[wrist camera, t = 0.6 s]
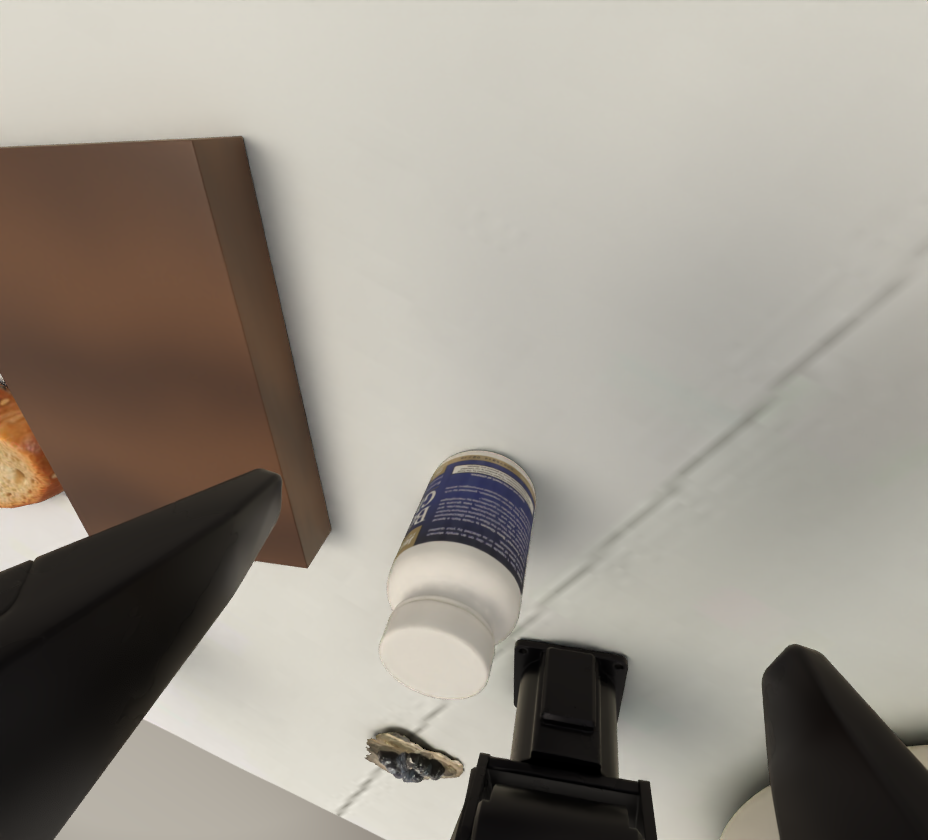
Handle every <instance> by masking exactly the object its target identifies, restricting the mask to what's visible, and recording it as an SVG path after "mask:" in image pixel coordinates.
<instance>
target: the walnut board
mask: <svg viewBox="0 0 928 840" xmlns="http://www.w3.org/2000/svg"><path fill="white" fill-rule="evenodd" d="M0 374H1V376H2V377H3V379H4V381H5V383H6V385H7V387H8V388H9V390H10V392H11V394H12V396H13V398H14V399H15V401H16V403H17V405H18V407H19V409H20V410H21V412H22V414H23V416H24V418H25V420H26V421H27V423H28V425H29V427H30V429H31V431H32V432H33V434H34V436H35V438H36V440H37V442H38V443H39V445H40V447H41V449H42V451H43V453H44V454H45V456H46V458H47V460H48V462H49V464H50V465H51V467H52V469H53V471H54V473H55V475H56V476H57V478H58V480H59V482H60V484H61V486H62V487H63V489H64V491H65V493H66V495H67V497H68V498H69V500H70V502H71V504H72V506H73V508H74V509H75V511H76V513H77V515H78V517H79V519H80V521H81V522H82V524H83V526H84V528H85V530H86V532H87V533H88V535H89V536H91V535H93V534H96V533H98V532H101V531H103V530H106V529H108V528H111V527H113V526H116V525H118V524H121V523H123V522H126V521H128V520H131V519H133V518H135V517H138V516H140V515H143V514H145V513H148V512H150V511H153V510H155V509H158V508H160V507H163V506H165V505H168V504H170V503H173V502H175V501H178V500H180V499H182V498H185V497H187V496H190V495H192V494H195V493H197V492H200V491H202V490H205V489H207V488H210V487H212V486H215V485H217V484H220V483H222V482H225V481H227V480H229V479H232V478H234V477H237V476H239V475H242V474H244V473H247V472H249V471H252V470H254V469H258V468H262V469H265V470H268V471H271V472H275V473H278V474H279V475H280V476H281V478H282V502H281V512H280V515H279V518H278V520H277V522H276V524H275V526H274V527H273V529H272V531H271V533H270V534H269V536H268V538H267V539H266V541H265V543H264V545H263V546H262V548H261V550H260V551H259V553H258V555H257V557H256V558H255V560H254V561H260V562H267V563H274V564H281V565H288V566H295V567H302V568H308V567H309V565H310V564H311V562H312V560H313V559H314V557H315V556H316V554H317V553H318V551H319V549H320V548H321V546H322V545H323V543H324V541H325V540H326V538H327V537H328V535H329V534H330V532H331V526H330V522H329V517H328V513H327V508H326V504H325V499H324V495H323V491H322V486H321V482H320V477H319V473H318V468H317V464H316V460H315V455H314V451H313V446H312V442H311V438H310V433H309V429H308V424H307V420H306V415H305V411H304V407H303V402H302V398H301V393H300V389H299V384H298V380H297V376H296V371H295V367H294V362H293V358H292V353H291V349H290V345H289V340H288V336H287V331H286V327H285V322H284V318H283V314H282V309H281V305H280V300H279V296H278V292H277V287H276V283H275V278H274V274H273V269H272V265H271V261H270V256H269V252H268V247H267V243H266V238H265V234H264V230H263V225H262V221H261V216H260V212H259V207H258V203H257V199H256V194H255V190H254V185H253V181H252V177H251V172H250V168H249V163H248V159H247V154H246V150H245V146H244V141H243V137H241V136H233V137H211V138H189V139H167V140H145V141H123V142H100V143H78V144H56V145H34V146H12V147H0Z"/></svg>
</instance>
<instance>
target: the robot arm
mask: <svg viewBox="0 0 928 840" xmlns="http://www.w3.org/2000/svg"><path fill="white" fill-rule="evenodd" d="M281 502H282V478H281V476H280V475H279V474H278V473H275V472H271V471H268V470H265V469H262V468H258V469H254V470H252V471H249V472H247V473H244V474H242V475H239V476H237V477H234V478H232V479H229V480H227V481H225V482H222V483H220V484H217V485H215V486H212V487H210V488H207V489H205V490H202V491H200V492H197V493H195V494H192V495H190V496H187V497H185V498H182V499H180V500H178V501H175V502H173V503H170V504H168V505H165V506H163V507H160V508H158V509H155V510H153V511H150V512H148V513H145V514H143V515H140V516H138V517H135V518H133V519H131V520H128V521H126V522H123V523H121V524H118V525H116V526H113V527H111V528H108V529H106V530H103V531H101V532H98V533H96V534H93V535H91V536H89V537H86V538H84V539H81V540H79V541H76V542H74V543H71V544H69V545H66V546H64V547H61V548H59V549H56V550H54V551H51V552H49V553H46V554H44V555H42V556H39V557H37V558H36V559H35V560H34V561H32V560H29V561H26V562H24V563H21V564H19V565H16V566H14V567H11V568H9V569H6V570H4V571H1V572H0V840H54V838H55V837H56V836H57V834H58V833H59V832H60V830H61V829H62V827H63V826H64V825H65V823H66V822H67V821H68V819H69V818H70V817H71V815H72V814H73V813H74V811H75V810H76V809H77V807H78V806H79V804H80V803H81V802H82V800H83V799H84V798H85V796H86V795H87V794H88V792H89V791H90V790H91V788H92V787H93V785H94V784H95V783H96V781H97V780H98V779H99V777H100V776H101V775H102V773H103V772H104V771H105V769H106V768H107V766H108V765H109V764H110V762H111V761H112V760H113V758H114V757H115V756H116V754H117V753H118V752H119V750H120V749H121V748H122V746H123V745H124V743H125V742H126V740H127V739H128V738H129V737H130V735H131V734H132V733H133V731H134V730H135V728H136V727H137V726H138V724H139V723H140V721H141V720H142V719H143V718H144V716H145V715H146V714H147V712H148V711H149V710H150V708H151V707H152V706H153V704H154V703H155V701H156V700H157V699H158V697H159V696H160V695H161V693H162V692H163V691H164V689H165V688H166V687H167V685H168V684H169V683H170V681H171V680H172V678H173V677H174V676H175V674H176V673H177V672H178V670H179V669H180V668H181V666H182V665H183V664H184V662H185V661H186V660H187V658H188V657H189V655H190V654H191V653H192V651H193V650H194V649H195V647H196V646H197V645H198V643H199V642H200V641H201V639H202V638H203V636H204V635H205V634H206V632H207V631H208V630H209V628H210V627H211V626H212V624H213V623H214V622H215V620H216V619H217V618H218V616H219V615H220V613H221V612H222V611H223V609H224V608H225V607H226V605H227V604H228V602H229V601H230V600H231V598H232V597H233V595H234V594H235V592H236V590H237V589H238V587H239V586H240V584H241V582H242V581H243V579H244V577H245V575H246V574H247V572H248V570H249V569H250V567H251V565H252V563H253V562H254V560H255V558H256V557H257V555H258V553H259V551H260V550H261V548H262V546H263V545H264V543H265V541H266V539H267V538H268V536H269V534H270V533H271V531H272V529H273V527H274V526H275V524H276V522H277V520H278V518H279V515H280V512H281ZM627 670H628V663H627V659H626V658H625V657H623V656H620V655H615V654H609V653H602V652H596V651H590V650H584V649H577V648H571V647H565V646H559V645H552V644H546V643H540V642H534V641H527V640H518V641H517V642H516V644H515V654H514V706H515V707H516V708H517V710H516V718H515V726H514V734H513V741H512V749H511V757H510V760H509V759H503V758H498V757H492V756H490V754H486V753H480V755H479V759H478V763H477V767H474V768H473V769H471V773H470V778H469V784H468V789H467V794H466V798H465V802H464V805H463V808H462V811H461V814H460V816H459V819H458V821H457V824H456V826H455V829H454V832H453V834H452V837H451V839H450V840H657V834H656V826H655V818H654V811H653V803H652V795H651V788H650V782H649V781H644V780H638V782H637V781H631V780H626V779H620V778H619V768H618V742H617V722H618V717H619V712H620V706H621V701H622V696H623V691H624V686H625V680H626V675H627ZM762 695H763V708H764V721H765V734H766V747H767V759H768V770H769V779H770V786H771V792H772V799H773V804H774V810H775V815H776V821H777V827H778V832H779V838H780V840H928V770H927V769H926V768H925V766H924V765H923V764H922V763H921V762H920V761H919V760H918V759H917V758H916V757H915V755H914V754H913V753H912V752H911V751H910V750H909V749H908V748H907V747H906V745H905V744H904V743H903V742H902V741H901V740H900V739H899V738H898V737H897V736H896V734H895V733H894V732H893V731H892V730H891V729H890V728H889V727H888V726H887V725H886V723H885V722H884V721H883V720H882V719H881V718H880V717H879V716H878V715H877V714H876V712H875V711H874V710H873V709H872V708H871V707H870V706H869V705H868V704H867V702H866V701H865V700H864V699H863V698H862V697H861V696H860V695H859V694H858V693H857V691H856V690H855V689H854V688H853V687H852V686H851V685H850V684H849V683H848V682H847V680H846V679H845V678H844V677H843V676H842V675H841V674H840V673H839V672H838V671H837V669H836V668H835V667H834V666H833V665H832V664H831V663H830V662H829V661H828V659H827V658H826V657H825V656H824V655H823V654H821V653H820V652H818V651H816V650H813V649H810V648H807V647H804V646H801V645H798V644H792V645H789V646H788V647H786V648H785V650H784V651H783V652H782V653H781V654H780V655H779V656H778V657H777V658H776V659H775V660H774V661H773V662H772V663H771V664H770V666H769V667H768V668H767V669H766V670H765V672H764V674H763V678H762Z"/></svg>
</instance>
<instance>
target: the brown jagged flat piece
mask: <svg viewBox="0 0 928 840" xmlns="http://www.w3.org/2000/svg"><path fill="white" fill-rule="evenodd" d="M376 739H377V740H375V739H372V738H371V739H367V740H368V742H367V745H369V746H370V748H367V747H366V748H367V751H369V753H371V754H370V755H366V756H367V758H366V759H367V760H368V761H370V762H374V763H375V764H376V765H378V766H380V767H381V768H382V769H383V770H386V771H387V772H389V773H391V774H393V775H394V776H395V777H396V778H398V779H400V778H402V779H403V781H404V782H416V783H418V782H421V781H422V780H424V779H427V780H428V779H429V778H431V779H432V780H438V779H440V778H444V779H445V778H452V777H454V778H456V777H459V776H460V775H461V774H462V773H463V769H462V767H463V765H462V764H461V763H459V761H456V760H455V761H453V760H451V759H449V758H448V757H447V756H446V755H445V756H443V754H441V753H440V752H439V753H437V752H433V751H427V750H425V749H423V748H421V746H420V747H419V745H417V744H414V743H412V742H410V739H408V738H406V736H401V735H400V734H399V733H398V732H397V733H395V732H393V733H392V732H387V734H386V733H385V734H384V733H382V734H381V733H380V734H379V735H376Z"/></svg>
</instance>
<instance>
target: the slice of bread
mask: <svg viewBox="0 0 928 840" xmlns="http://www.w3.org/2000/svg"><path fill="white" fill-rule="evenodd" d="M63 491H64V489H63V487H62V486H61V484H60V482H59V480H58V478H57V476H56V475H55V473H54V471H53V469H52V467H51V465H50V464H49V462H48V460H47V458H46V456H45V454H44V453H43V451H42V449H41V447H40V445H39V443H38V442H37V440H36V438H35V436H34V434H33V432H32V431H31V429H30V427H29V425H28V423H27V421H26V420H25V418H24V416H23V414H22V412H21V410H20V409H19V407H18V405H17V403H16V401H15V399H14V398H13V396H12V394H11V392H10V390H9V389H8V388H7V387H6V386H4V385H1V384H0V508H15V507H20V506H25V505H30V504H34V503H39V502H42V501H45V500H47V499H49V498H51V497H53V496H55V495H57V494H59V493H61V492H63Z"/></svg>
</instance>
